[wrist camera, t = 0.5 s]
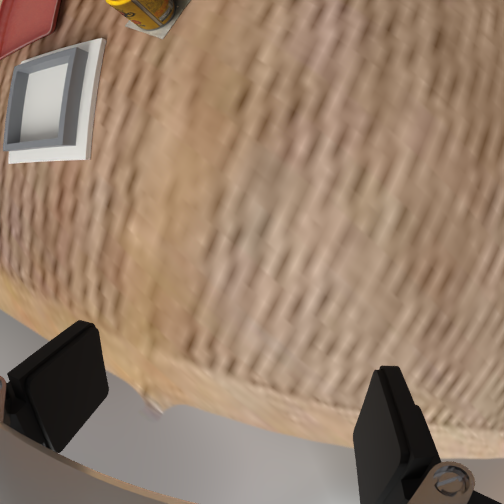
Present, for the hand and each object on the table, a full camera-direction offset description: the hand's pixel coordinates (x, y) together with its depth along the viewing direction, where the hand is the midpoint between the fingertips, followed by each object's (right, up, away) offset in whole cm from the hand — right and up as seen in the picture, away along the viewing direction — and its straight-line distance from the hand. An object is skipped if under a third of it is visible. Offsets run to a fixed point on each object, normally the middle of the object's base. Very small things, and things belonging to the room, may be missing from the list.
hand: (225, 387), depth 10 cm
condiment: (-12, +37, +24) cm, 46 cm away
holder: (-30, +27, +29) cm, 49 cm away
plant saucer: (-39, +47, +26) cm, 66 cm away
